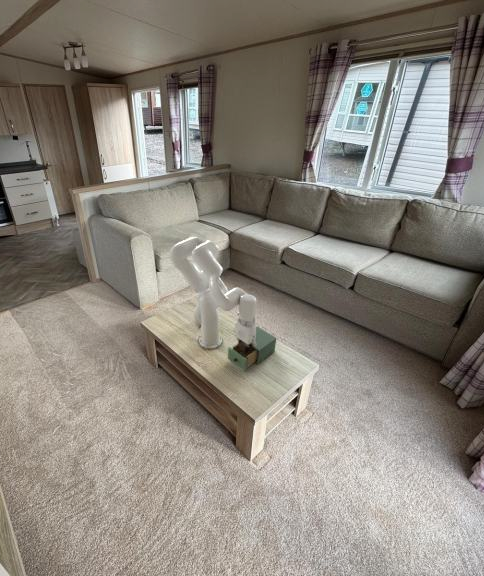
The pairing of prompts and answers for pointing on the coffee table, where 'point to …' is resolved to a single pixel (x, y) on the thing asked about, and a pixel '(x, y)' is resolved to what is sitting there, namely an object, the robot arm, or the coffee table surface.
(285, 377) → the coffee table surface
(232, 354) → the drawer
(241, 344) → the block
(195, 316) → the soap bottle
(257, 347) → the cabinet
